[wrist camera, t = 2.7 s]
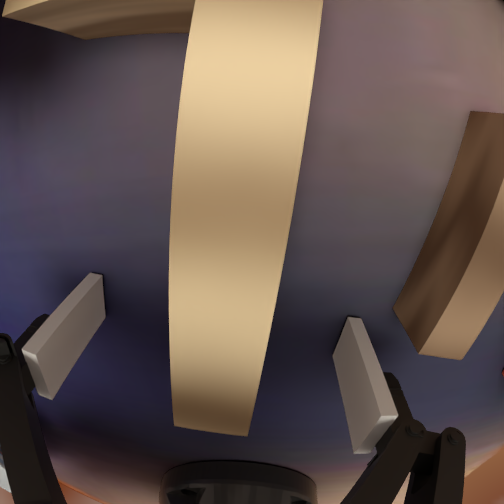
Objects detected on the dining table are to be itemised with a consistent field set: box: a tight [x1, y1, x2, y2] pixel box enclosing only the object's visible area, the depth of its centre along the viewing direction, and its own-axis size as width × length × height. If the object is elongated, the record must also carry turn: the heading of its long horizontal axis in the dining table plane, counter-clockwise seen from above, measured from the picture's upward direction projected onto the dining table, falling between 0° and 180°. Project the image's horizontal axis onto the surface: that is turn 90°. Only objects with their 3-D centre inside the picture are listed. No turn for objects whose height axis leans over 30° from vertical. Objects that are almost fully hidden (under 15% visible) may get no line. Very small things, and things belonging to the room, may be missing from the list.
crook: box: [2, 0, 323, 436], centre depth 11 cm, size 18×10×6 cm, turn 173°
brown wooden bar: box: [393, 111, 504, 360], centre depth 12 cm, size 11×3×4 cm, turn 164°
